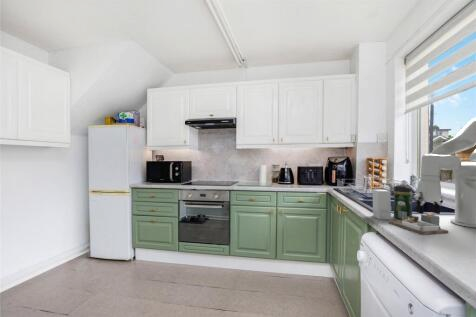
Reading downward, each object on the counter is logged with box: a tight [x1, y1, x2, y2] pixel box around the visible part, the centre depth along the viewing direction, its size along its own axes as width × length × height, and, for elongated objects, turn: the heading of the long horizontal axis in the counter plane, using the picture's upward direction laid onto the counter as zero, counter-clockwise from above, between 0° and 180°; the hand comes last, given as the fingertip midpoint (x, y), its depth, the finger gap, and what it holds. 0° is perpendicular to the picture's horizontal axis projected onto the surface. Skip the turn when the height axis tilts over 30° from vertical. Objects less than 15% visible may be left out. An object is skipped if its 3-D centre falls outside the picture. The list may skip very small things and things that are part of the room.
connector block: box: [420, 212, 440, 226], centre depth 114 cm, size 5×5×6 cm
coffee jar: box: [393, 184, 413, 220], centre depth 128 cm, size 10×8×19 cm
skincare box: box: [372, 189, 392, 221], centre depth 127 cm, size 8×7×16 cm
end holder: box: [402, 219, 441, 232], centre depth 107 cm, size 10×10×2 cm
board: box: [387, 214, 449, 236], centre depth 110 cm, size 14×18×4 cm
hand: (428, 213), depth 114 cm, fingers open, 9 cm apart
